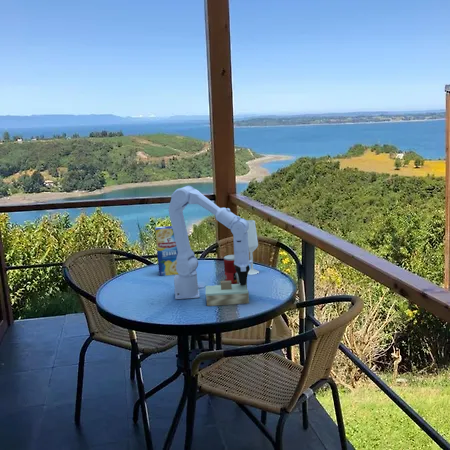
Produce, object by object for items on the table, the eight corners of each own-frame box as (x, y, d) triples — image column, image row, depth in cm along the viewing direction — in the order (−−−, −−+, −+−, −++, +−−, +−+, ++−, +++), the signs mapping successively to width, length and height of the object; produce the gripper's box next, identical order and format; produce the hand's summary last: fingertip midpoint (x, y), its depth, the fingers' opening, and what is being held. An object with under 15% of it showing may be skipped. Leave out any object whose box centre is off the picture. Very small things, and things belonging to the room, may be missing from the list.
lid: (205, 296, 192) (205, 286, 191) (205, 288, 202) (205, 279, 201) (248, 293, 192) (247, 284, 192) (246, 285, 202) (245, 276, 201)
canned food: (236, 284, 217) (235, 259, 215) (221, 282, 222) (220, 257, 220) (246, 280, 223) (245, 255, 221) (231, 277, 228) (230, 253, 226)
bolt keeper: (238, 293, 205) (237, 274, 204) (237, 290, 210) (236, 271, 208) (247, 292, 205) (246, 274, 204) (246, 289, 210) (245, 271, 208)
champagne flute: (241, 273, 235) (239, 221, 230) (251, 269, 239) (249, 219, 235) (252, 275, 230) (250, 223, 226) (262, 271, 235) (260, 220, 230)
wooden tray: (206, 306, 193) (206, 295, 192) (206, 297, 203) (206, 287, 202) (249, 303, 193) (248, 293, 192) (246, 294, 203) (246, 285, 202)
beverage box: (158, 272, 244) (155, 227, 240) (181, 270, 245) (178, 225, 241) (159, 276, 237) (155, 229, 233) (182, 274, 239) (179, 227, 235)
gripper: (253, 254, 189) (255, 289, 192) (250, 245, 204) (251, 278, 206) (234, 255, 189) (236, 290, 192) (232, 246, 203) (234, 279, 206)
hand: (243, 284), depth 199 cm, fingers closed
